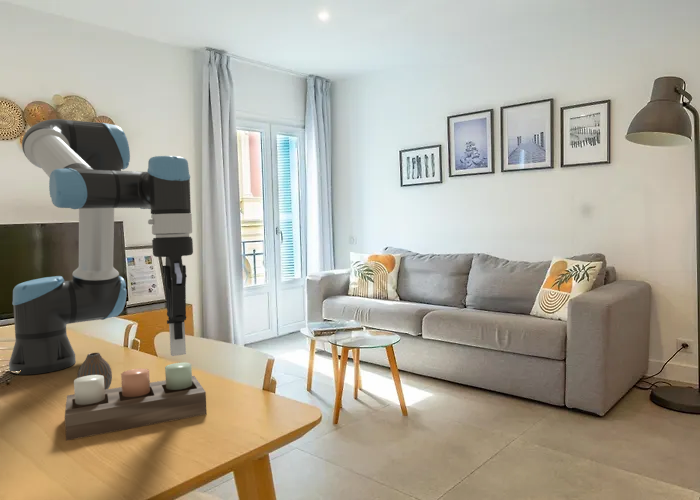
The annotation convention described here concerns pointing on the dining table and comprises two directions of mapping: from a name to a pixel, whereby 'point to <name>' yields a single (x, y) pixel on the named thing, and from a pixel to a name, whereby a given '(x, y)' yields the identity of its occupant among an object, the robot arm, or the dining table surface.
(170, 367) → the button sage
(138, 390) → the button terracotta
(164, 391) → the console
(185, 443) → the dining table surface
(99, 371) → the vase
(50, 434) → the dining table surface
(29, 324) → the robot arm
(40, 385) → the dining table surface
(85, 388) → the button cream
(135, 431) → the dining table surface
